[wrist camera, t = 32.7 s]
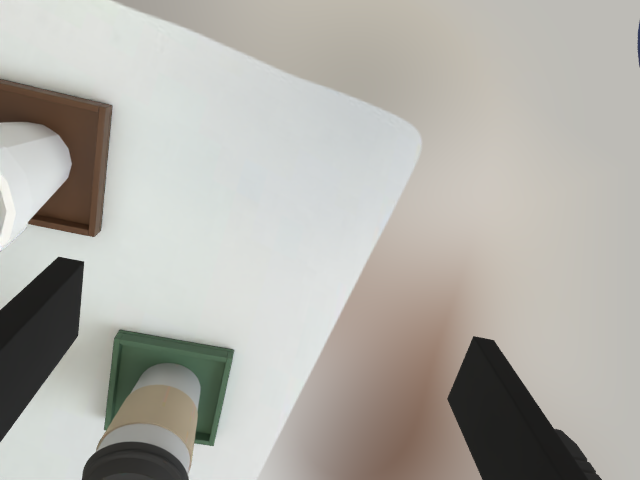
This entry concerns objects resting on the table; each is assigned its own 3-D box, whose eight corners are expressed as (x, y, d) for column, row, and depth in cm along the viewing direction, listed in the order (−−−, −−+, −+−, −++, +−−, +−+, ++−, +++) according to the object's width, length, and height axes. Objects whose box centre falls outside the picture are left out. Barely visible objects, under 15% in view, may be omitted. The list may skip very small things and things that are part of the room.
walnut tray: (112, 105, 44) (105, 107, 42) (100, 230, 48) (94, 237, 46) (-35, 70, 42) (-48, 71, 40) (-34, 204, 46) (-45, 209, 45)
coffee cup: (110, 377, 54) (46, 494, 40) (179, 340, 52) (138, 448, 38) (159, 432, 57) (116, 559, 43) (226, 399, 55) (204, 518, 42)
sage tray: (234, 349, 54) (232, 358, 52) (215, 435, 58) (213, 446, 56) (119, 329, 52) (114, 338, 50) (109, 419, 56) (103, 430, 55)
